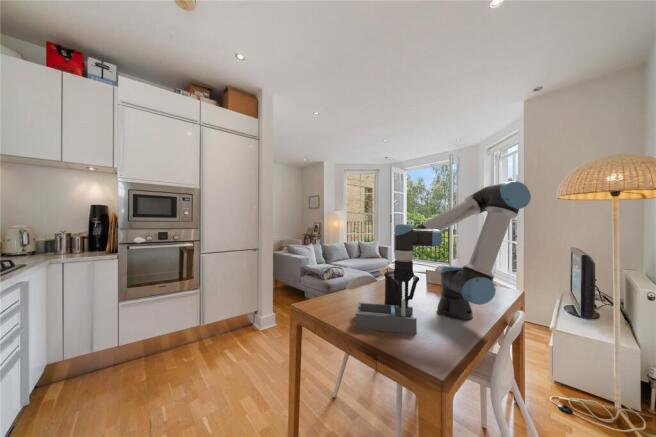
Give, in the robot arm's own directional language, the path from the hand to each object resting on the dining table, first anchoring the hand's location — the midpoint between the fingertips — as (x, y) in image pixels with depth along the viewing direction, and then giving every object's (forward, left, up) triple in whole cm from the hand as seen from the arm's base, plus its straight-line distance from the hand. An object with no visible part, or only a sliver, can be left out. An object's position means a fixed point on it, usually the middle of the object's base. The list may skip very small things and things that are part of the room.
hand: (403, 315), depth 102 cm
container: (+3, -14, -5) cm, 15 cm away
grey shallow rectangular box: (+7, 0, -5) cm, 9 cm away
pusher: (+12, 0, -3) cm, 12 cm away
